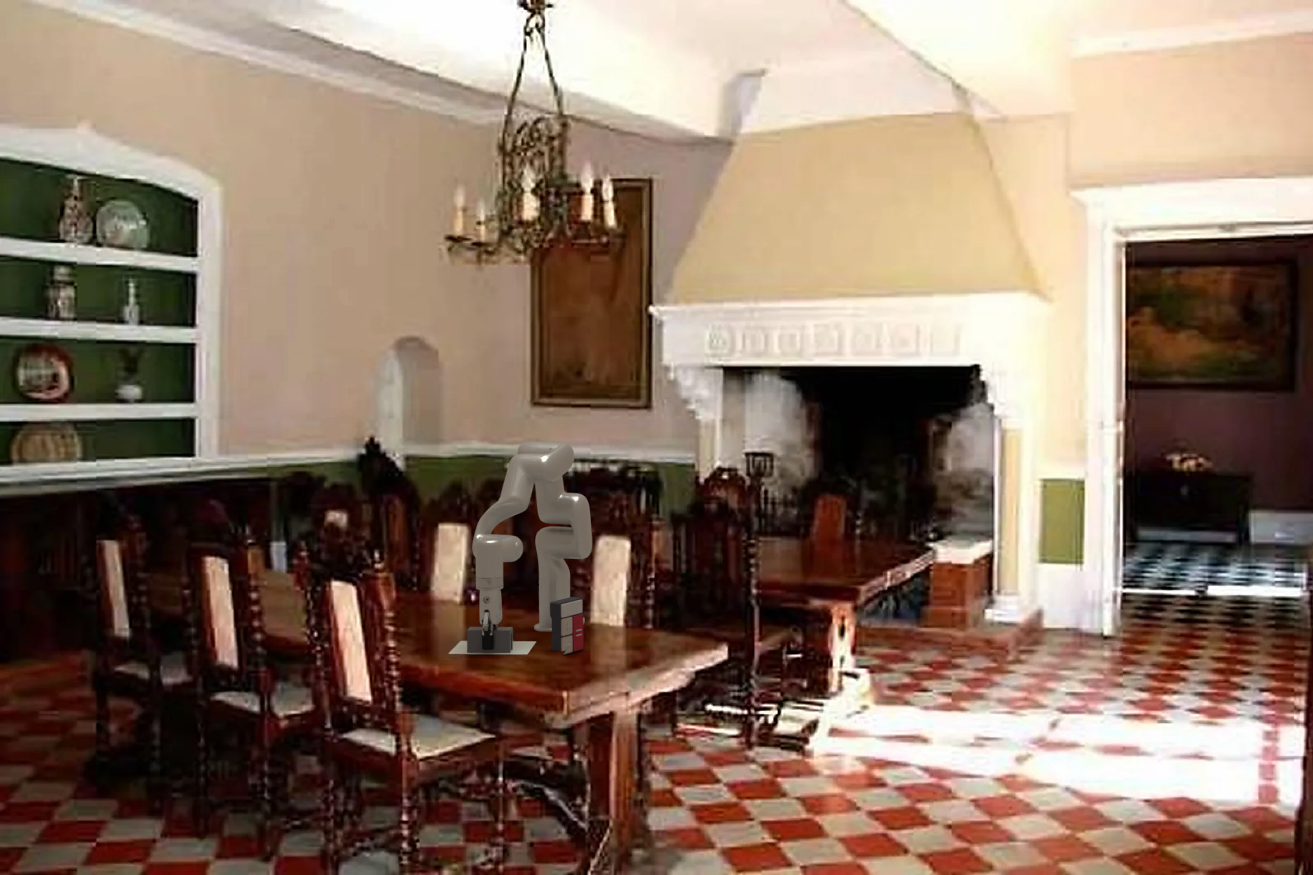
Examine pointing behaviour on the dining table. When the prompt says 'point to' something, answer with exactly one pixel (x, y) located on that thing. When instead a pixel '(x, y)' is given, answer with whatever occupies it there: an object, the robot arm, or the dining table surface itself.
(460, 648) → the header board
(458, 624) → the dining table surface
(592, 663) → the dining table surface
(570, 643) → the miniature cabinet
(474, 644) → the housing
